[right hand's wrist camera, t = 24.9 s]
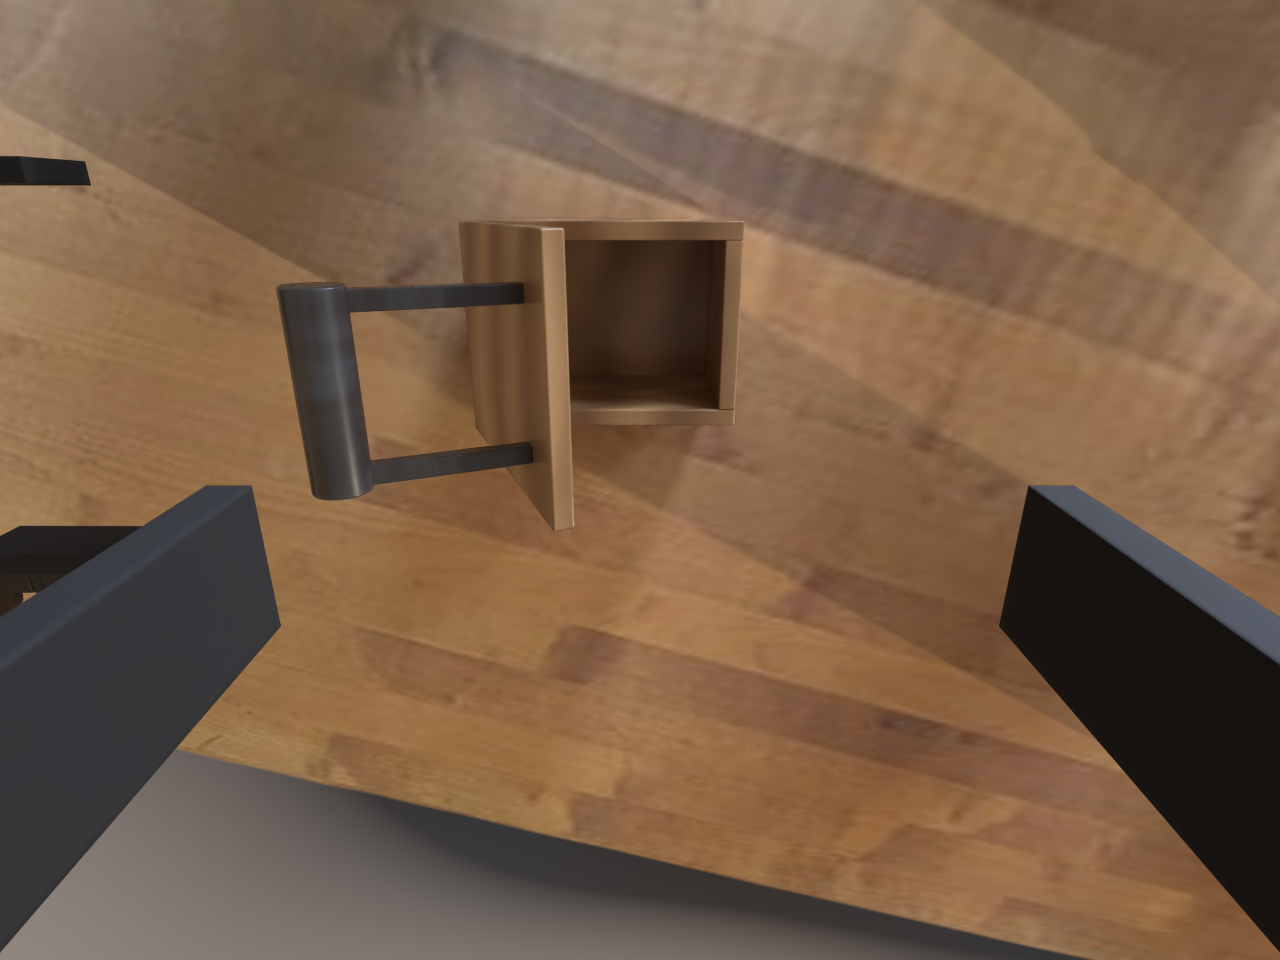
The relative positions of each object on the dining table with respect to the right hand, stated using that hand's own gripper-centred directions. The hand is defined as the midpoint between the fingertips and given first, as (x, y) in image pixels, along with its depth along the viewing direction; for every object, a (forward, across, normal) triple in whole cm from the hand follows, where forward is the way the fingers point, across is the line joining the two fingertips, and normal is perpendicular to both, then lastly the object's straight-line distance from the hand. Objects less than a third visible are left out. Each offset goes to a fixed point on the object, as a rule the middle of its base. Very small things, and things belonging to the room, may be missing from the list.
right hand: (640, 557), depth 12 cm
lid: (+18, -5, 0) cm, 19 cm away
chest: (+34, -2, 0) cm, 34 cm away
